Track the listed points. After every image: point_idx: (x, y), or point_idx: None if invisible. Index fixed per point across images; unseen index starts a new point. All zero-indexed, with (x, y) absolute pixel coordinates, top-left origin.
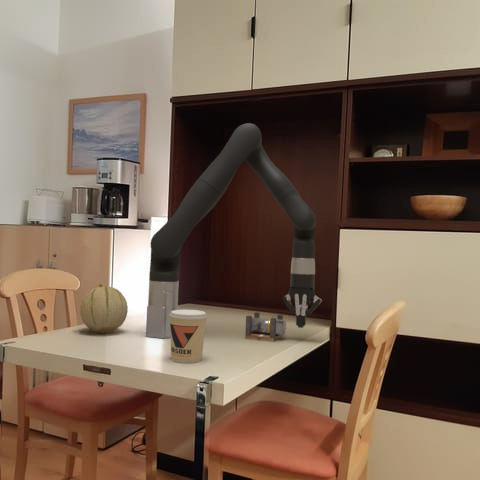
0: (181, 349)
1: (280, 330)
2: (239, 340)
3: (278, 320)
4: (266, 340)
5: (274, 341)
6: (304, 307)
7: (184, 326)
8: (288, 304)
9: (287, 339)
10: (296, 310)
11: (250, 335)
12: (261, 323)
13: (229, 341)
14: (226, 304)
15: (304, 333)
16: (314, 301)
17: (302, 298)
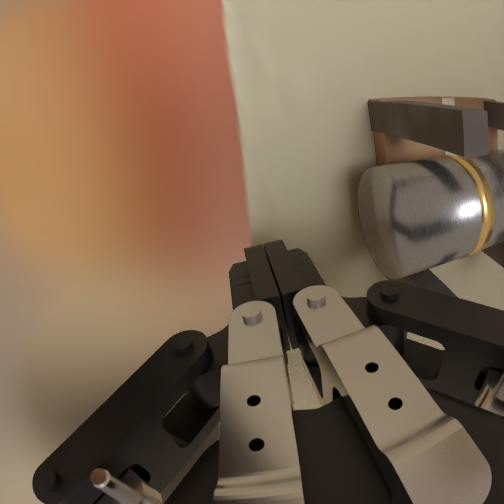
0: None
1: (383, 165)
2: (483, 54)
3: (443, 217)
4: (406, 97)
5: (370, 115)
6: (237, 367)
7: None
8: (474, 324)
9: (335, 227)
10: (347, 315)
11: (481, 103)
12: (500, 163)
13: (492, 18)
14: None
15: (311, 390)
16: (99, 479)
17: (318, 495)
